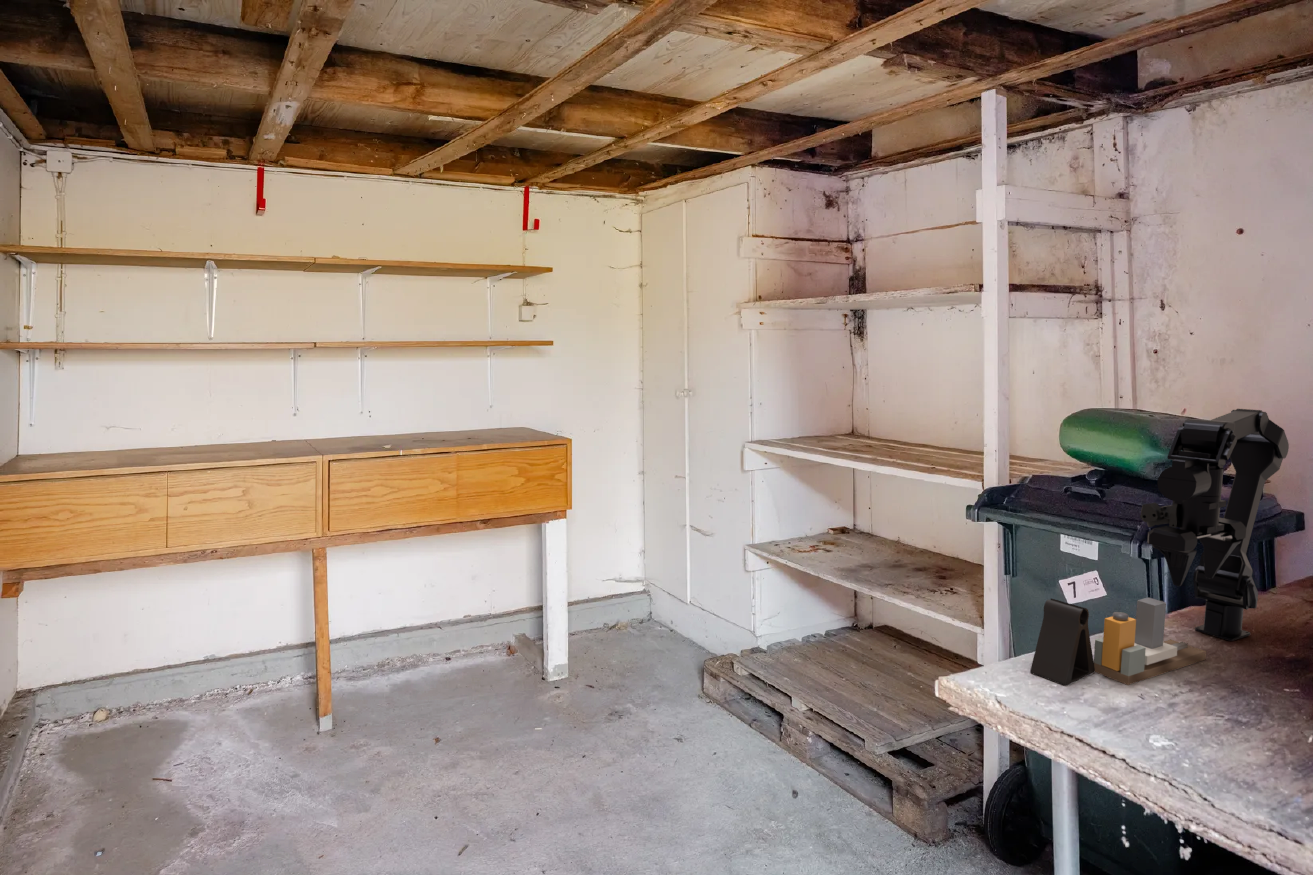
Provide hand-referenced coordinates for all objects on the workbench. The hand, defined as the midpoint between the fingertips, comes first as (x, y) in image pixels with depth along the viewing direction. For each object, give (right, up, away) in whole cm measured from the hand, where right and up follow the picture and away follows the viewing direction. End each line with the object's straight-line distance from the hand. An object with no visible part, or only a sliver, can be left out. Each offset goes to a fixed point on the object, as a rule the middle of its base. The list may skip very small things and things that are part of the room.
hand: (1193, 581), depth 140 cm
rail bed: (-9, -14, -3) cm, 17 cm away
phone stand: (-25, -15, -5) cm, 30 cm away
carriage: (-11, -11, -4) cm, 16 cm away
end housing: (-17, -13, -7) cm, 22 cm away
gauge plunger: (-17, -13, -7) cm, 22 cm away
